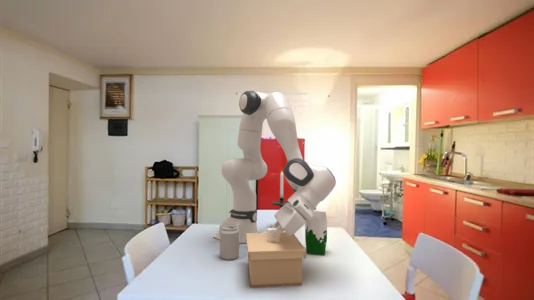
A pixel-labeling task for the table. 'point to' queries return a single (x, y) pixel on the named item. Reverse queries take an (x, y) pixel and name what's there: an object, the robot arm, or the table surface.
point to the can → (229, 242)
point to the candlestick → (281, 193)
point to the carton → (275, 272)
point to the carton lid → (273, 246)
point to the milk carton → (316, 232)
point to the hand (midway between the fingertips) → (271, 234)
